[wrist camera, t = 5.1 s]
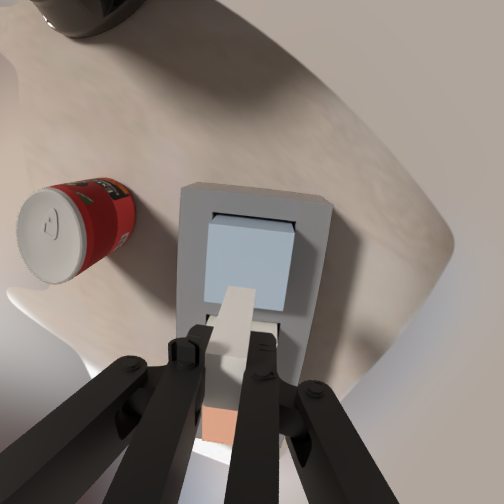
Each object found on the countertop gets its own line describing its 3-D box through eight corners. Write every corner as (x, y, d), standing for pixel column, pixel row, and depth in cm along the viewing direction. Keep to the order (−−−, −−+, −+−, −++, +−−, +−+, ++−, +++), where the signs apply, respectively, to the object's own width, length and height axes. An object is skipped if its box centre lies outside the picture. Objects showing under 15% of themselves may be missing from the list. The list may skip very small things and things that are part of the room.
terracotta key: (210, 374, 33) (202, 404, 29) (265, 381, 33) (263, 412, 28) (209, 410, 35) (202, 440, 30) (258, 417, 35) (256, 447, 30)
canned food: (139, 177, 31) (81, 188, 20) (138, 252, 33) (87, 292, 22) (78, 176, 31) (12, 188, 20) (80, 245, 33) (20, 279, 23)
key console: (197, 182, 30) (181, 187, 25) (321, 196, 30) (333, 204, 24) (190, 403, 38) (179, 434, 33) (280, 414, 38) (280, 448, 32)
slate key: (219, 211, 27) (208, 223, 22) (290, 219, 27) (294, 233, 22) (214, 277, 29) (203, 301, 24) (281, 286, 29) (283, 311, 24)
